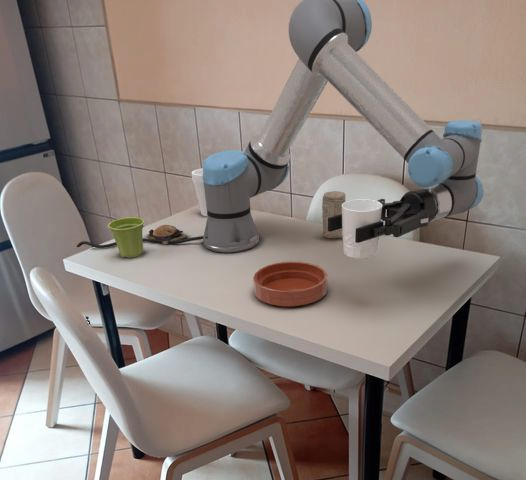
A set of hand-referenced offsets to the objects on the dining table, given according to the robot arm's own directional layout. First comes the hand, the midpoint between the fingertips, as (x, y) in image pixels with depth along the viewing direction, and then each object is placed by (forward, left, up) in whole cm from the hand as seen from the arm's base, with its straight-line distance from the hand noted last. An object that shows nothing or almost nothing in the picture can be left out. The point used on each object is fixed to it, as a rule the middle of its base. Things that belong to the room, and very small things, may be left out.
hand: (342, 230), depth 112 cm
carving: (-16, +39, -17) cm, 46 cm away
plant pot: (-63, +10, -17) cm, 66 cm away
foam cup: (-60, +47, -17) cm, 78 cm away
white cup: (+2, +4, -6) cm, 8 cm away
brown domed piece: (-61, +24, -17) cm, 68 cm away
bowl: (-13, +3, -17) cm, 22 cm away
